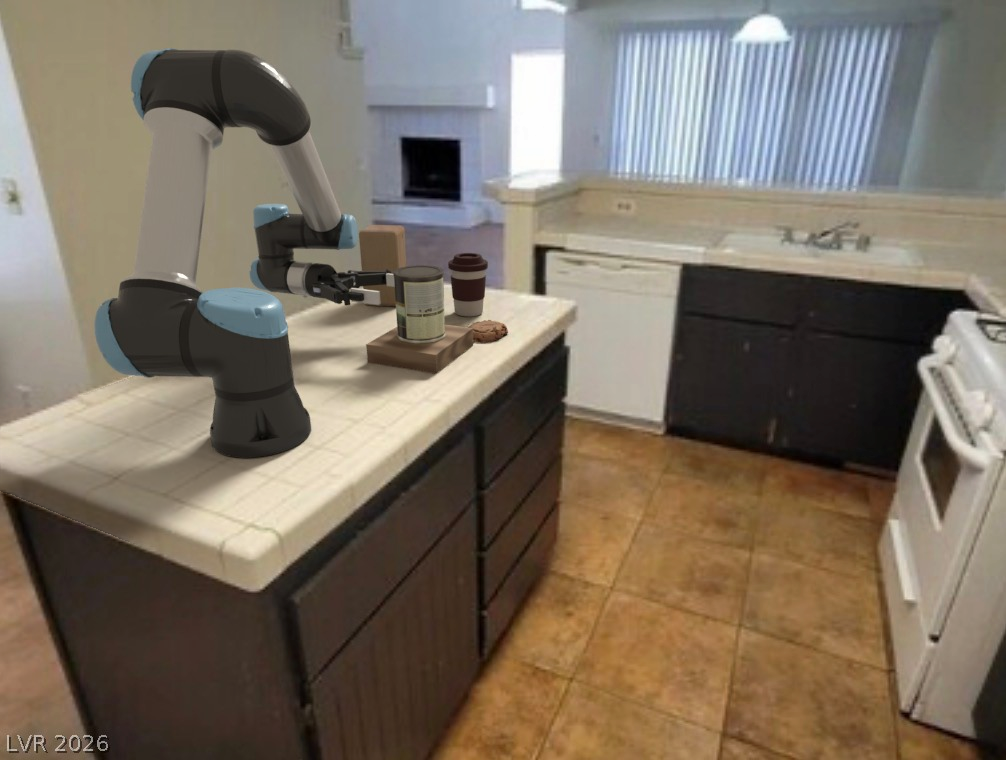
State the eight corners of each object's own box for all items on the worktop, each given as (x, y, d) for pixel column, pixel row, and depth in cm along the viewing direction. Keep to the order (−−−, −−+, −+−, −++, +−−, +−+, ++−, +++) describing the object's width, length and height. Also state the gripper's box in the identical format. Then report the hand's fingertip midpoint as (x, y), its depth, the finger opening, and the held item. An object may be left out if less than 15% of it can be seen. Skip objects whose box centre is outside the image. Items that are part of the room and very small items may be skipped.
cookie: (466, 344, 145) (466, 331, 144) (465, 329, 155) (464, 317, 154) (510, 343, 146) (510, 330, 145) (506, 328, 156) (506, 316, 154)
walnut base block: (436, 373, 128) (435, 354, 126) (367, 362, 133) (366, 344, 132) (473, 345, 143) (472, 328, 142) (410, 336, 149) (409, 319, 147)
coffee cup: (443, 316, 163) (442, 258, 157) (457, 306, 172) (456, 250, 166) (480, 320, 160) (480, 260, 154) (492, 309, 169) (492, 252, 163)
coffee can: (387, 338, 135) (382, 272, 130) (416, 325, 143) (413, 263, 138) (426, 347, 130) (423, 279, 125) (455, 333, 138) (453, 268, 133)
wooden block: (409, 297, 179) (405, 224, 171) (400, 307, 170) (395, 231, 162) (374, 296, 180) (368, 224, 172) (363, 306, 171) (357, 230, 163)
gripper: (348, 283, 155) (425, 292, 147) (278, 311, 133) (364, 323, 126) (345, 252, 152) (424, 260, 144) (273, 275, 130) (361, 286, 123)
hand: (396, 290), depth 135 cm, fingers open, 13 cm apart
